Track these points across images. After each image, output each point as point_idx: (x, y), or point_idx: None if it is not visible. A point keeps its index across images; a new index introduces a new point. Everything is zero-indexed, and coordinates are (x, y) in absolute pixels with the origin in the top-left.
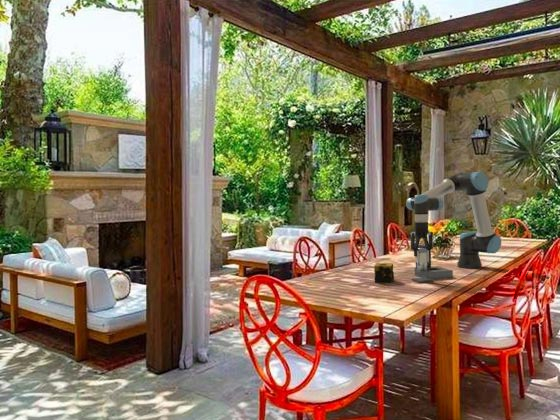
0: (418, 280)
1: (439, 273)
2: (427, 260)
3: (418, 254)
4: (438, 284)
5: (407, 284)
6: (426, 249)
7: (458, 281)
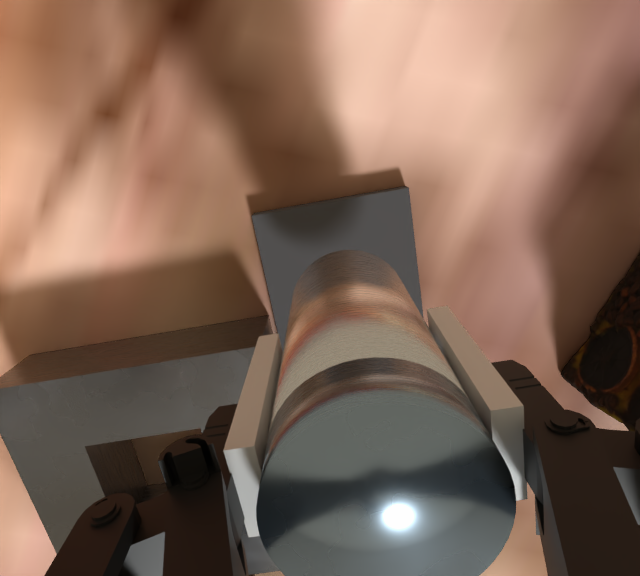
0: (399, 231)
1: (139, 356)
2: (277, 344)
3: (471, 367)
4: (248, 80)
5: (540, 146)
6: (291, 427)
7: (14, 190)
